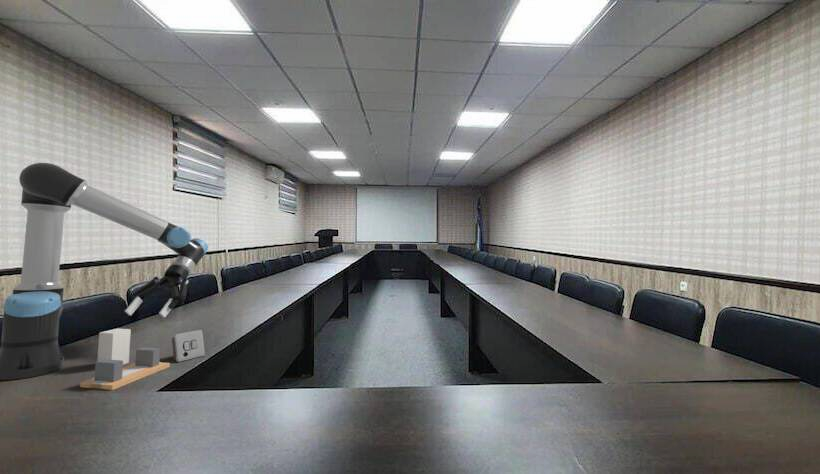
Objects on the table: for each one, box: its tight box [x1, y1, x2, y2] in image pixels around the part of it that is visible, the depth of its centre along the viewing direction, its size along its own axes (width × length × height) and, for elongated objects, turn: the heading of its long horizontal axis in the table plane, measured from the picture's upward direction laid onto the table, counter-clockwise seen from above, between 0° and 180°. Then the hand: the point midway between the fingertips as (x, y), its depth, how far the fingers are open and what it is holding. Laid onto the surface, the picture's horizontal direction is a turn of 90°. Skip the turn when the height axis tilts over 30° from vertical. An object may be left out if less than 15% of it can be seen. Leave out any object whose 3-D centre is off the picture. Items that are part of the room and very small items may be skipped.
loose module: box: [97, 328, 132, 365], centre depth 112 cm, size 5×6×11 cm
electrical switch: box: [171, 329, 206, 363], centre depth 121 cm, size 9×5×9 cm, turn 152°
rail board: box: [79, 347, 171, 391], centre depth 103 cm, size 10×19×6 cm, turn 173°
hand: (144, 314), depth 123 cm, fingers open, 13 cm apart
